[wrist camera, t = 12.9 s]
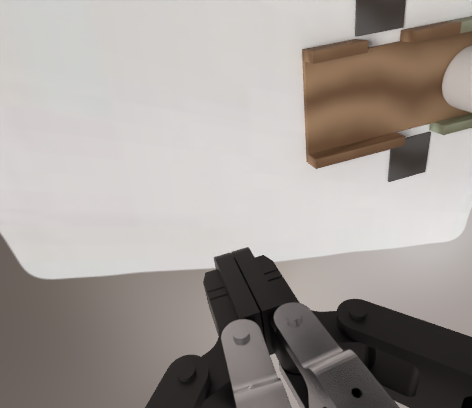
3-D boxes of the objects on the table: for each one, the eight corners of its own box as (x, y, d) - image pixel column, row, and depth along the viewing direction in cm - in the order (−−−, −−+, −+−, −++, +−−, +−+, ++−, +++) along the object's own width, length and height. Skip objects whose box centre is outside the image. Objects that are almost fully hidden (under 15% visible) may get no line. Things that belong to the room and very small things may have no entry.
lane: (299, -18, 36) (318, -21, 33) (524, -54, 41) (560, -60, 38) (308, 203, 49) (322, 217, 46) (478, 155, 54) (502, 164, 51)
